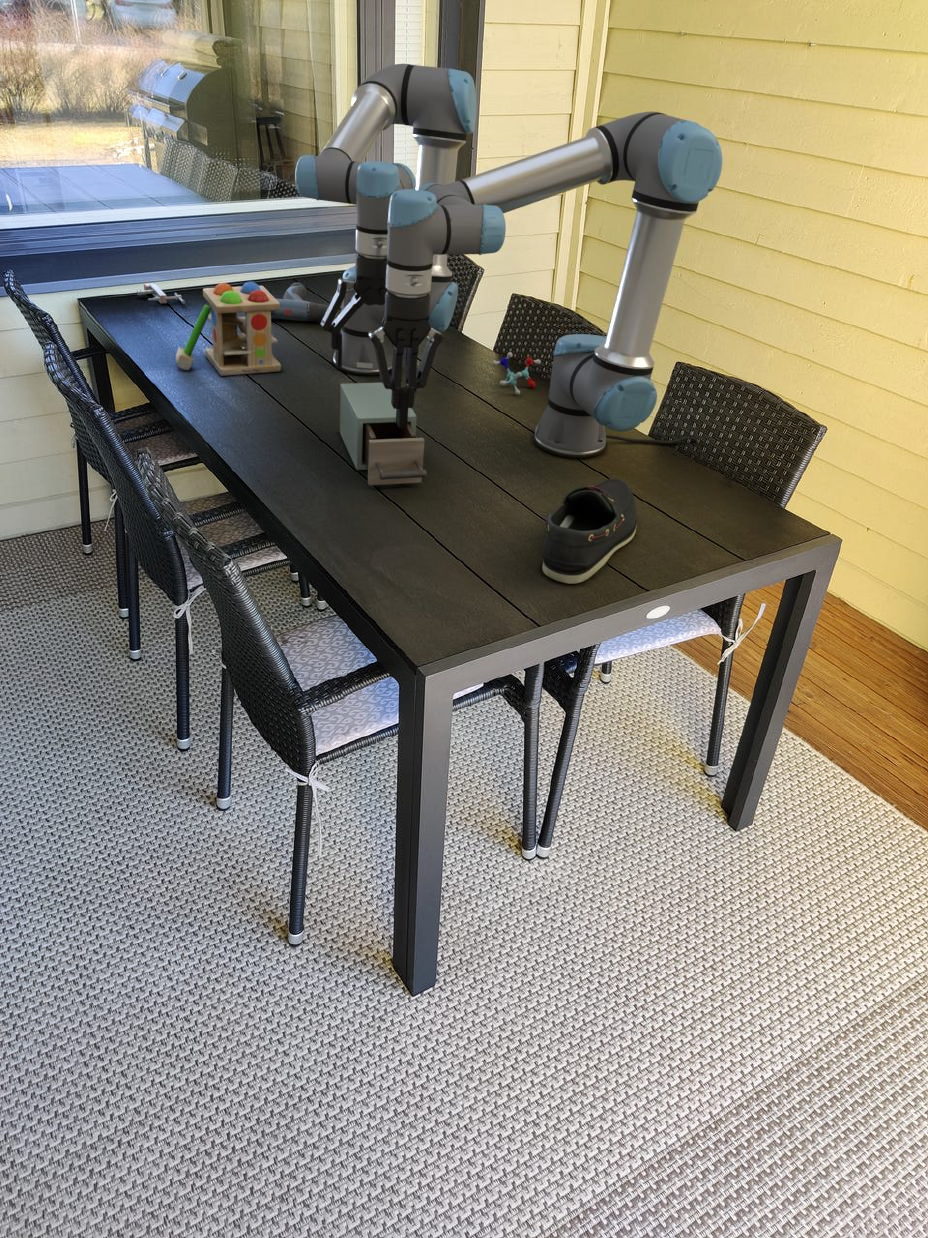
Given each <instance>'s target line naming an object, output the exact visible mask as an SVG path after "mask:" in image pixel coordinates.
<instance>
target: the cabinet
mask: <svg viewBox="0 0 928 1238" xmlns="http://www.w3.org/2000/svg"><path fill="white" fill-rule="evenodd" d="M339 393H340V396H339V397H340V399H339V401H340V403H339V434H340V437H341V438H342V441H343V443H344V446H345V448H346V450H347V452H348V455H349V456H350V459H351V461H352V463H353V465H354V468H355V470H356V471H368V469H367V467H366V465H365V463H364V461H363V459H362V439H363V423H384V422H396V409H394V408H393V406H392V404H391V396H392V390H390V389H386V388H385V387H384V385H383V384H382V382H358V383H340V392H339ZM408 423H409V425H410V427H411V428H412V430H413V432H414V433H415V434H416V433H417V414H416V413H415V411H414V410H413V408H408Z"/></svg>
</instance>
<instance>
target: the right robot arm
mask: <svg viewBox="0 0 928 1238" xmlns="http://www.w3.org/2000/svg"><path fill="white" fill-rule="evenodd" d="M722 170H723V152H722V147H721V144H720V143H719V140H718V139H717V137H716V135H715V134H714V133H713V132H712V131H711V130H710V129H709V128H706V126H703V125H700V124H699V123H698V122H696V121H692V120H688V119H684V118H679V117H676V116H672V115H668V114H666V113H664V112H659V111H643V112H637V113H633V114H629V115H627V116H623V117H621V118H617V119H615V120H612V121H608V122H606V123H603V124H600V125H597V126H594V127H591V128H589V129H588V130H587V132H586V134H585V136H584V137H582V138H578V139H575V140H573V141H570V142H566V143H564V144H561V145H559V146H556V147H553V148H550V149H546V150H544V151H541V152H538V153H536V154H533V155H529V156H526V157H524V158H520V159H518V160H515V161H512V162H509V163H507V164H504V165H501V166H498V167H494V168H492V169H489V170H487V171H484V172H480V173H478V174H475V175H472V176H469V177H465V178H463V179H459V180H455V182H453V183H450V184H447V185H444V186H443V185H441V184H435V183H428V184H425V185H423V186H421V187H420V188H419V189H418V190H414V189H403V190H398V191H395V192H394V193H393V194H392V195H391V198H390V204H389V212H388V219H387V224H388V243H387V269H386V288H387V289H388V291H387V292H386V293H385V317H384V320H383V321H382V324H381V328H379V329H378V330H376V331H375V332H373V331H370V332H369V333H368V336H369V338H370V340H371V341H372V343H373V344H374V348H375V353H376V358H377V362H378V367H379V372H380V375H379V376H380V382H381V383H382V384H383V385H384V387H385V388H386V389H390V390H392V396H391V404H392V406H393V408H394V409H396V423H397V425H398V427H399V428H407V424H408V408H412V409H413V408H414V406H415V394H416V393H417V391H418V389H424V388H425V387H426V385H427V382H428V380H429V376H430V372H431V370H432V367H433V363H434V359H435V356H436V353H437V349H438V347H439V346H440V345H441V344H442V342H443V340H444V335H443V334H442V333H440V332H439V331H438V330H434V329H433V328H431V323H430V321H429V314H430V298H431V297H430V295H429V292H430V291H431V279H432V266H433V256H434V255H447V256H448V255H478V256H482V255H487V254H489V255H490V254H495V253H497V252H499V251H500V250H501V249H502V247H503V245H504V243H505V239H506V232H507V231H506V230H507V227H506V217H505V215H504V214H507V213H509V212H512V211H515V210H518V209H521V208H523V207H526V206H529V205H532V204H535V203H538V202H540V201H543V200H546V199H549V198H552V197H555V196H557V195H560V194H563V193H566V192H570V191H573V190H574V189H578V188H581V187H583V186H586V185H589V184H592V183H595V182H596V183H597V184H599V185H601V186H603V185H607V184H611V183H613V182H618V181H627V182H628V181H629V182H634V185H633V189H632V194H631V201H632V203H633V205H634V207H635V209H636V214H635V217H634V222H633V226H632V230H631V235H630V239H629V243H628V246H627V250H626V255H625V259H624V263H623V267H622V271H621V274H620V275H621V276H620V280H619V283H618V287H617V290H616V296H615V299H614V303H613V308H612V312H611V314H610V315H611V316H610V320H609V324H608V328H607V332H606V336H602V335H597V334H588V333H587V334H586V333H575V334H566V335H563V336H561V337H559V339H558V340H557V341H556V343H555V348H554V351H553V354H552V356H553V361H552V367H551V375H550V382H549V383H550V384H549V391H548V398H547V405H546V407H545V409H544V412H543V414H542V415H541V418H540V419H539V422H538V423H536V426H535V427H534V436H533V441H534V443H535V445H536V447H538V448H539V449H541V450H542V451H544V452H547V453H549V454H550V455H554V456H558V457H563V458H567V459H590V458H593V457H598V456H599V455H601V454H603V453H604V452H605V450H606V445H607V439H610V440H616V441H617V440H618V441H624V442H627V443H628V442H629V443H637V444H639V443H640V444H642V443H643V444H656V445H657V444H659V445H673V444H678V443H681V442H684V441H687V440H689V439H688V438H689V437H687V436H688V435H686V436H683V437H680V438H677V439H673V440H658V439H646V438H644V439H642V438H641V439H640V438H630V437H629V438H628V437H624V436H619V435H612V434H606V428H607V429H608V430H610V431H612V432H618V433H620V432H621V433H622V432H628V431H631V430H634V429H636V428H637V427H638V426H640V424H641V423H644V422H645V421H646V420H648V419H649V417H650V416H651V414H653V411H654V409H655V407H656V404H657V401H658V392H657V389H656V387H655V385H654V382H652V381H651V379H652V375H653V370H654V367H655V360H654V358H653V357H652V355H651V353H650V351H651V347H652V344H653V340H654V337H655V333H656V330H657V325H658V322H659V318H660V314H661V311H662V306H663V304H664V299H665V295H666V292H667V288H668V285H669V281H670V278H671V274H672V269H673V266H674V262H675V259H676V255H677V251H678V247H679V244H680V240H681V236H682V233H683V229H684V225H685V222H686V221H687V219H689V218H691V217H692V216H693V215H695V214H696V213H697V210H698V208H699V203H700V202H701V201H703V200H704V199H706V198H707V197H708V196H709V193H710V192H713V191H714V189H715V188H716V186H717V184H718V183H719V180H720V177H721V174H722ZM384 334H386V336H387V337H388V339H389V340H390V342H391V343H392V348H393V358H392V371H391V377H390V372H388V367H387V362H386V357H385V352H384V348H383V345H382V344H381V343H383V342H384ZM425 338H426V339H427V341H426V344H425V347H424V350H423V354H422V358H421V360H420V362H419V363H420V364H419V367H418V355H419V348H420V345H421V344H422V343H423V341H424V340H425ZM406 347H407V366H406V365H405V366H406V370H405V386H402V383H403V364H404V362H403V354H404V348H406ZM690 440H691V441H693V442H694V443H696V444H698V443H699V440H698V439H697V438H696V439H690Z"/></svg>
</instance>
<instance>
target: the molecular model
mask: <svg viewBox="0 0 928 1238" xmlns="http://www.w3.org/2000/svg"><path fill="white" fill-rule="evenodd" d="M512 357H513V353H512V352H510V351H509V352H507V355H506V357H502V358H501V359H500V360H492V361H491V365H492V366H498V365H501V366H503V367H504V368H505V370H506V372H507V374H506V379H505V380H500V381H499V386H501V387H504V386H505V387H506V386H507V385H509V386H511V387H512V388H513V389H514V394H515V396H519V395H521V390H520V389H518V387H517V385H516V384H517V380H518V379H519V378H521V377H522V378H524V379H525V381H526V382H527V383H528V387H529V388H532V389H533V388H535V386H536V381H533V380H532V378H531V376H529V375H530V374H529V371H528V370H529V368H530V365H532V364H536V365H540V364H542V360H541V359H538V358H537V359H533V358H531V357H527V358H526V359H525V363H526V366H525V368H524V370H521V371H517V372H516V373H514V372H513V371H511V370H510V368H509V365H508V362H509V359H510V358H512Z"/></svg>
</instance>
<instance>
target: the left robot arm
mask: <svg viewBox="0 0 928 1238" xmlns="http://www.w3.org/2000/svg"><path fill="white" fill-rule="evenodd" d="M350 102H351V103H350V104H351V106H350V108H349V109H348V111H347V112H346V114H345V115H344V117H343V118H342V120H341V121H340V123H339V125H338V126H337V127H336V129H335V130H334V132H333V133H332V135H331V136H330V137H329V140H328V141H327V142H326V144H325V146H323V148H322V150H321V151H320V153H319V154H318V155H314V154H311V155H310V154H309V155H308V154H305V155H301V156H300V157H299V159H298V160H297V162H296V165H295V173H294V175H295V176H294V178H295V187H296V191H297V193H298V194H299V195H300V196H301V197H303V198H306V199H311V200H316V201H325V202H330V203H331V202H332V203H340V204H347V205H355V206H356V207H355V208H356V211H355V212H356V214H355V216H356V217H355V219H356V221H355V223H356V224H355V250H356V252H357V253H356V254H355V257H354V259H355V265H354V266H351V267H349V268H346V270H345V271H344V272H343V274H342V277H340V278H339V279H338V280H337V287H336V291H335V293H334V295H333V297H332V299H331V302H329V304H328V305H329V307H328V309H327V311H326V313H325V315H324V317H323V319H322V321H320V326H321V328H322V330H323V331H324V332H329V335H330V336H329V341H330V347H331V350H334V352H333V361H332V362H333V363H332V364H333V366H334V367H335V368H337V369H338V370H339V371H342V372H344V373H347V374H352V375H356V376H380V372H379V367H378V362H377V358H376V353H375V348H374V344H373V343H372V341H371V340H370V338H369V336H368V333H369V332H370V331H373V332H375V331H376V330H378V329H379V328H381V324H382V321H383V320H384V317H385V293H386V292H387V291H388V289H387V288H386V269H387V243H388V224H387V219H388V212H389V204H390V198H391V195H392V194H393V193H394V192H395V191H398V190H403V189H414V190H418V189H419V188H420V187H421V186H423V185H425V184H428V183H435V184H441V185H443V186H444V185H447V184H450V183H453V182H456V176H457V175H456V174H457V163H458V152H459V150H460V148H461V147H463V146H464V145H465V144H466V143H467V135H470V134H473V133H474V132H475V129H476V122H477V111H478V110H477V109H478V108H477V92H476V85H475V81H474V78H473V77H472V75H471V74H470V73H469V72H467V71H464V70H459V69H454V68H452V67H451V68H449V67H448V68H446V67H436V66H428V65H427V66H426V65H417V64H410V63H396V64H395V63H394V64H391V65H389V66H386V67H383V68H381V69H379V70H377V71H375V72H373V73H372V74H370V75H369V76H368V77H366V78H365V79H364V80H363V81H362V82H361V83H360V84H359V85H358V87H357V88H356V89H355V91H354V93H353V94H352V97H351V101H350ZM391 125H402V126H405V127H406V126H409V127H412V137H413V139H414V140H415V141H416V143H417V145H418V149H417V150H418V151H417V152H418V153H417V163H416V173H415V174H416V175H415V174H414V173H413V171H412V170H411V168H410V167H408V166H407V165H406V164H403V163H401V162H388V161H382V160H368V161H365V159H366V158H367V156H368V154H369V152H370V151H371V149H372V147H373V145H375V143H376V141H377V139H378V138H379V136H380V134H381V133H382V132H383V131H386V130H387V129H388V128H389V127H391ZM447 263H448V254H447V255H434V256H433V266H432V279H431V291H430V292H429V295H430V297H431V298H430V314H429V321H430V323H431V328H433V329H434V330H438V331H439V332H440V333H441V334H442V333H444V332H446V330H447V329H448V328H449V326H450V323H451V322H452V320H453V316H454V312H455V309H456V305H457V301H458V294H459V286H458V283H456V282H455V281H452V280H453V273H452V271H451V270H450V269H449V267H448V264H447ZM340 308H341V312H340V313H339V314H338V312H339V310H340ZM336 314H337V316H336ZM335 316H336V317H335ZM381 344H382V345H383V348H384V352H385V357H386V362H387V367H388V372H389V373H392V358H393V348H392V343H391V342H390V340H389V339H388V337H387V336H386V334H384V342H383V343H381ZM403 364H404V366H407V347H406V348H404V354H403Z"/></svg>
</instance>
